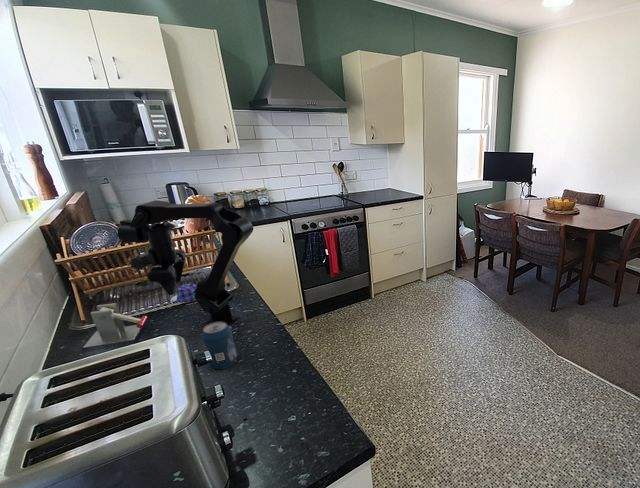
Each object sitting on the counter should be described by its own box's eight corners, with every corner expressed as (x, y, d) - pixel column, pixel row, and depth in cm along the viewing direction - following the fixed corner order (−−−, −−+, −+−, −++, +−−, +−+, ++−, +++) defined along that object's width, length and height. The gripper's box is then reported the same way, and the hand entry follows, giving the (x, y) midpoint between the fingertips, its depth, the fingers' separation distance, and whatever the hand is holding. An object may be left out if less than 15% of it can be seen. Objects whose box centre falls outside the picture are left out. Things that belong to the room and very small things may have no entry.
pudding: (204, 288, 137) (201, 276, 135) (212, 300, 129) (209, 287, 127) (168, 297, 130) (164, 285, 128) (174, 310, 122) (170, 297, 120)
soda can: (211, 357, 100) (201, 322, 95) (238, 352, 102) (230, 318, 97) (208, 373, 94) (198, 336, 89) (237, 367, 97) (228, 331, 92)
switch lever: (146, 321, 110) (148, 315, 110) (140, 329, 106) (143, 323, 105) (101, 311, 104) (104, 304, 104) (94, 319, 100) (97, 312, 100)
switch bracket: (144, 327, 112) (133, 297, 108) (134, 342, 105) (122, 312, 100) (97, 333, 108) (84, 303, 104) (84, 350, 101) (69, 319, 96)
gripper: (139, 235, 110) (153, 279, 117) (116, 257, 95) (134, 306, 101) (180, 233, 114) (191, 275, 121) (165, 252, 99) (179, 300, 105)
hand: (174, 288), depth 112 cm, fingers open, 9 cm apart
